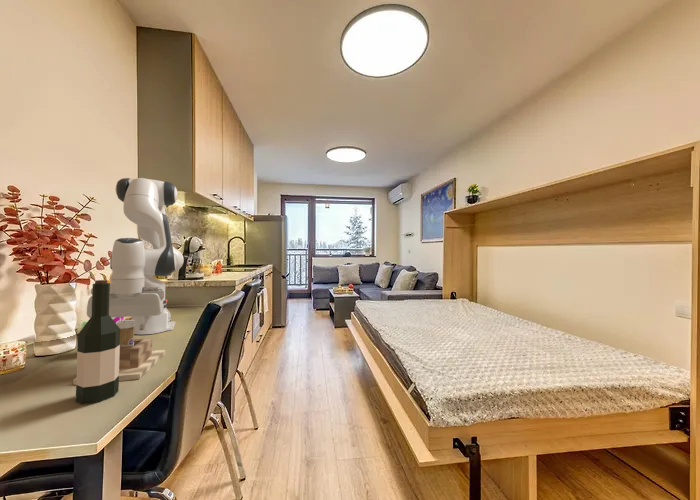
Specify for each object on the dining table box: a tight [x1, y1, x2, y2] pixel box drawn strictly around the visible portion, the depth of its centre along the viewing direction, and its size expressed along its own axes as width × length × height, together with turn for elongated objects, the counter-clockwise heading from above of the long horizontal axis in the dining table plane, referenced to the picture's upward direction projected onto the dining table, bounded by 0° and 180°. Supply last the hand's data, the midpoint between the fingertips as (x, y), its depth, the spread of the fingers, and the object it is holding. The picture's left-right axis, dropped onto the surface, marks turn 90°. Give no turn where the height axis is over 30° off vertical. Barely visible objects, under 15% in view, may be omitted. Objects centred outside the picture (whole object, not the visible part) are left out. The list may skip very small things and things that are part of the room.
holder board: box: [72, 337, 166, 386], centre depth 93 cm, size 22×16×8 cm
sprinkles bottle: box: [117, 319, 135, 347], centre depth 93 cm, size 5×5×14 cm
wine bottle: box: [75, 279, 120, 405], centre depth 75 cm, size 8×8×30 cm
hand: (126, 330), depth 93 cm, fingers open, 8 cm apart
